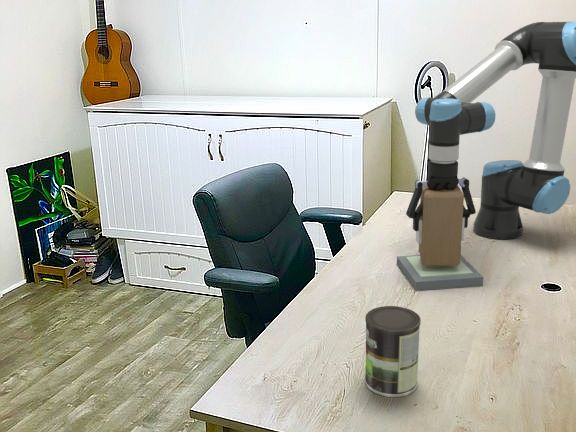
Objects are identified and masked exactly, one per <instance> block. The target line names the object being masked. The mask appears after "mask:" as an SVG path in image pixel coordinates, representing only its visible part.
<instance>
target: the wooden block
mask: <svg viewBox="0 0 576 432" xmlns="http://www.w3.org/2000/svg"><path fill="white" fill-rule="evenodd" d="M419 201H420V202H419V204H420V203H421V201H422V204H423V214H422V216H421V217H420V218H421V219H422V244H419V243H418V253H419V254H418V255H420V258H421V261H422V264H423V265H452V266H457V265H459V263H460V257H461V255H462V253H461V252H462V241H461V239H462V222H463V205H464V203H465V202H464V201H465V198H464V195H463V192H462V189H461V188H460V185H459V184H458V185H457V186H456V188H455V189H454V190H448V189H445V190H440V191H434V190H430V189H429V188H428V186H427V185H426V186H425V188H424V189H423V190H422V194H421V197H420V199H419Z"/></svg>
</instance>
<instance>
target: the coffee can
mask: <svg viewBox="0 0 576 432" xmlns="http://www.w3.org/2000/svg"><path fill="white" fill-rule="evenodd" d="M421 321H422V320H421V317H420V315H419V314H418V313H417V312H415V311H414V310H412V309H409V308H407V307H404V306H398V305H397V306H396V305H384V306H383V305H382V306H379V307H375V308H372V309H370V310H369V311H368V312H367V313H366V314H365V369H364V370H365V375H364V376H365V377H364V384H365V386H366V387H367V388H368V390H369V391H371V392H372V393H374V394H376V395H379V396H382V397H387V398H401V397H405V396H409V395H410V394H412V393H413V392H415V391H416V389H417V388H418V386H419V385H418V374H419V372H418V370H419V351H420V350H419V349H420V332H421V331H420V328H421V327H420V326H421V324H422V323H421Z"/></svg>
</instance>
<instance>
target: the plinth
mask: <svg viewBox="0 0 576 432" xmlns="http://www.w3.org/2000/svg"><path fill="white" fill-rule="evenodd" d="M396 266H397V267H398V269H399V270H400V271H401V273H402V274H403V276H404V277H405V278H406V279H407V282H409V284H410V285H411V287H412V288H413V290H414V291H415V292H419V291H432V290H433V291H435V290H442V289H445V290H446V289H448V290H449V289H457V288H458V289H461V288H471V287H483V286H484V276H483V275H482V274H481V273H480V272H479V271H478V270H477V269H476V268H475V266H473V265H472V264H471V263H470V262H469V261H468V260H467V259H466V258H465V257H464V256H463V255H462V254H461V257H460V263H459V265H457V266H452V265H423V264H422V261H421V258H420V254H411V255H399V256H398V255H397V256H396Z"/></svg>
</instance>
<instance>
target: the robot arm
mask: <svg viewBox="0 0 576 432" xmlns="http://www.w3.org/2000/svg"><path fill="white" fill-rule="evenodd" d="M529 64H530V65H531V64H538V72H539V73H540V75H541V77H542V79H541V85H540V91H539V98H538V102H537V109H536V115H535V121H534V127H533V133H532V140H531V144H530V145H531V146H530V150H529V151H530V152H529V157H528V158H527V159H528V160H526V161H525V162H522V161H521V160H517V159H515V160H514V159H503V160H493V161H490V162H487V163H485V164H484V165H483V167H482V174H481V190H480V207H479V210H478V211H476V208H475V205H474V201H473V198H472V194H471V191H470V180H469V179H468V178H466V177H462V178H458V174H459V173H458V171H459V162H458V161H457V160H459V157H460V156H459V154H460V153H459V152H460V139H461V138H460V136H462V135H467V134H468V135H469V134H474V133H481V132H484V131H488V130H489V129H492V127H493V126H494V124H495V121H496V110H495V109H494V106H493V105H492V104H490V103H489V102H486V101H485V102H484V101H482V102H481V101H477V102H474V101H475V100H476V99H477V98H478V97H480V96H481V95H482V94H483V93H485V92H486V91H487V90H488V89H490V88H491V87H492V86H493V85H495V84H496V83H497V82H499V80H501V79H502V78H503V77H505V76H506V75H507V74H508V73H509V72H511V71H517V70H519V69H520V68H521V67H522V66H525V65H529ZM575 81H576V21H552V22H551V21H549V22H547V21H537V22H532V23H529V24H526V25H525V26H522V27H520V28H519V29H516V30H514V31H513V32H512V33H510V34H508V35H506V36H505V37H504V38H503V39H501V40H500V41H499V42H497V43H496V45H495V47H494V50H492V52H491V53H489V54H488V55H486V56H485V57H484V58H483V59H482V60H480V61H479V62H477V64H475V65H474V66H473V67H471V68H470V69H469V70H468V71H466V72H465V73H464V74H462V76H460V77H459V78H458V79H457V80H454V81H453V83H451V84H449V85H448V86H447V87H446V88H444V90H442V91H441V92H440V93H438V94H437V95H435V96H434V97H424V98H421V99H420V100H418V102H417V103H416V105H415V109H414V110H415V112H414V114H415V118H416V120H417V121H418V122H419V123H420V124H423V125H426V126H429V133H428V134H429V136H428V137H429V141H428V159H429V160H428V163H427V179H425V180H421V181H420V180H419V179H417V180H415V182H414V185H415V186H414V191H413V194H412V196H411V199H410V201H409V204H408V207H407V210H406V212H405V215H406V216H407V217H408V218H409V219H412V230H413V231H415V241H416V242H417V243H418V245H419V244H422V219H421V218H420V217H421V216H422V214H423V204H422V201H421V203H420V202H419V201H420V197H421V194H422V190H423V189H424V188H425V186H426V185H427V186H428V188H429V189H430V190H434V191H440V190H445V189H448V190H454V189H455V188H456V186H457V185H458V186H459V187H461V188H460V189H461V191H462V193H463V195H464V201H465V202H464V203H465V205H466V207H465V205H464V204H463V222H462V239H461V242H464V239H465V237H464V236H465V229H467V228H468V223H469V218H470V216H471V215H475V214H476V212H477V214H476V217H475V218H474V219H475V220H474V221H473V227H472V229H473V233H475V234H476V235H478V236H481V237H483V238H488V239H495V240H513V239H516V238H517V239H518V238H519V237H521V236H522V235H523V234H524V233H523V232H524V230H523V229H524V225H523V221H522V217H521V213H520V208H523V209H527V210H530V211H533V212H535V213H542V214H546V215H551V214H554V213H556V212H558V211H559V210H560V209H561V208H562V207H563V206H564V205H565V203H566V202H567V201H568V198H569V195H570V192H571V184H570V180H569V178H568V177H566V176H564V175H565V167H564V166H563V165H562V163H561V161H562V154H563V149H564V144H565V139H566V138H565V137H566V133H567V127H568V120H569V116H570V109H571V103H572V98H573V94H574V92H573V91H574V86H575ZM473 102H474V103H473ZM466 208H467V209H466Z"/></svg>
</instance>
